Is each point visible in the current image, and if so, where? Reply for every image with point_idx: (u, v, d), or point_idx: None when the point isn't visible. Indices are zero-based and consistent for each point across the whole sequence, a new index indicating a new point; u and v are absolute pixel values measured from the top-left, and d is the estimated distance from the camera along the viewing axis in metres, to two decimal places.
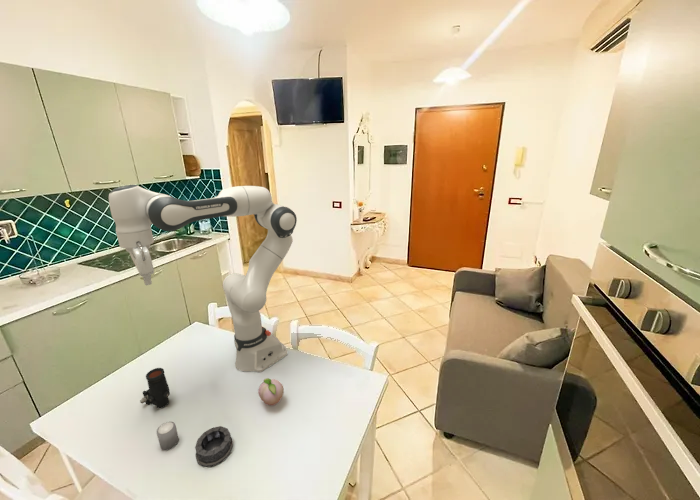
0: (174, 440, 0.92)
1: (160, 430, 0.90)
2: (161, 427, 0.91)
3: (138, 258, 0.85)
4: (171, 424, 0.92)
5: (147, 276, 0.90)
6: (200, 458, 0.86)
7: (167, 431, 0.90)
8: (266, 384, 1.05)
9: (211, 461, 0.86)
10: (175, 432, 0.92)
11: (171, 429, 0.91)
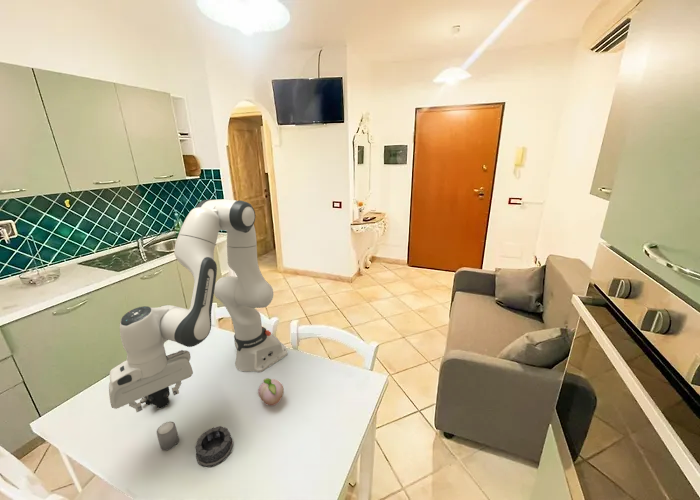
0: (174, 440, 0.92)
1: (160, 430, 0.90)
2: (161, 427, 0.91)
3: (188, 361, 0.90)
4: (171, 424, 0.92)
5: None
6: (200, 458, 0.86)
7: (167, 431, 0.90)
8: (266, 384, 1.05)
9: (211, 461, 0.86)
10: (175, 432, 0.92)
11: (171, 429, 0.91)
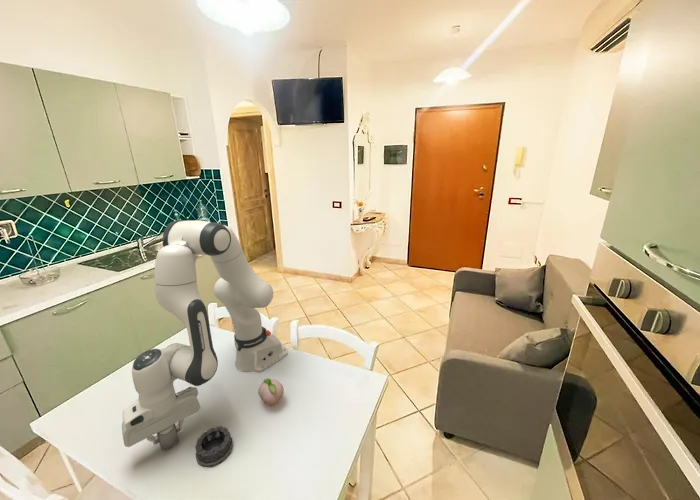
0: (174, 440, 0.92)
1: None
2: None
3: (196, 397, 0.94)
4: None
5: None
6: (200, 458, 0.86)
7: (167, 431, 0.90)
8: (266, 384, 1.05)
9: (211, 461, 0.86)
10: (175, 432, 0.92)
11: (171, 429, 0.91)
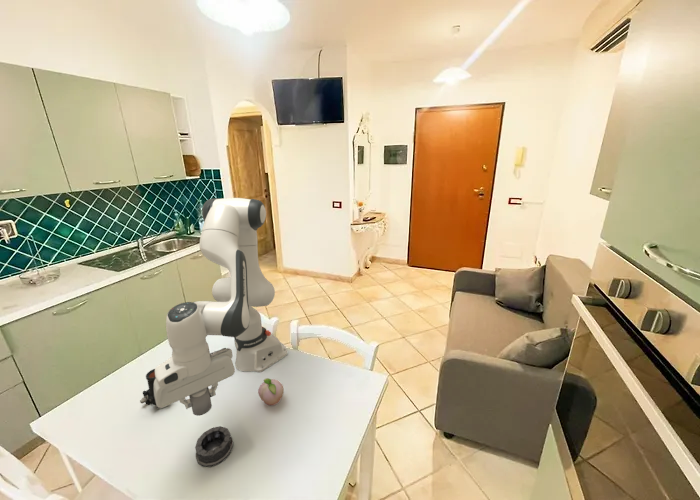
0: (207, 405, 0.84)
1: None
2: None
3: None
4: None
5: None
6: (200, 458, 0.86)
7: (201, 394, 0.82)
8: (266, 384, 1.05)
9: (211, 461, 0.86)
10: (208, 396, 0.84)
11: (205, 392, 0.83)
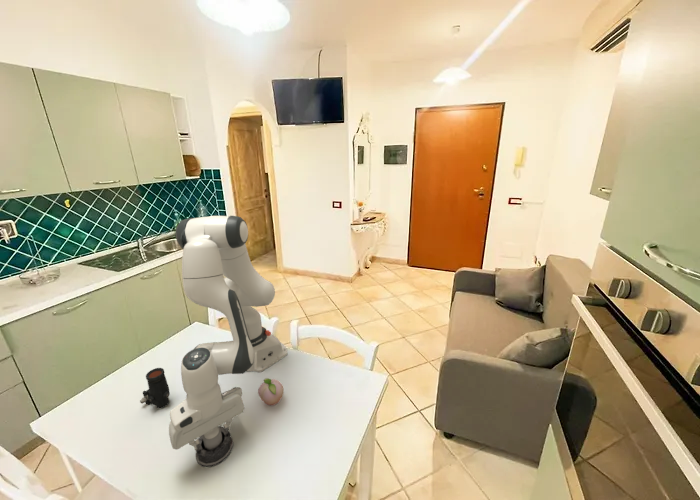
0: None
1: (206, 435, 0.88)
2: None
3: None
4: (216, 428, 0.90)
5: None
6: (200, 458, 0.86)
7: (214, 436, 0.87)
8: (266, 384, 1.05)
9: (211, 461, 0.86)
10: (221, 437, 0.89)
11: (217, 434, 0.88)
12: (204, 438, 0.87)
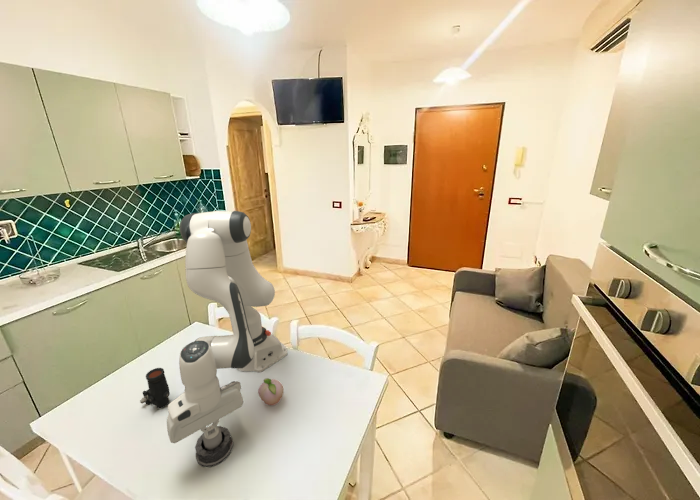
0: None
1: None
2: None
3: None
4: None
5: None
6: (200, 458, 0.86)
7: (214, 436, 0.87)
8: (266, 384, 1.05)
9: (211, 461, 0.86)
10: (221, 437, 0.89)
11: (217, 434, 0.88)
12: (204, 438, 0.87)
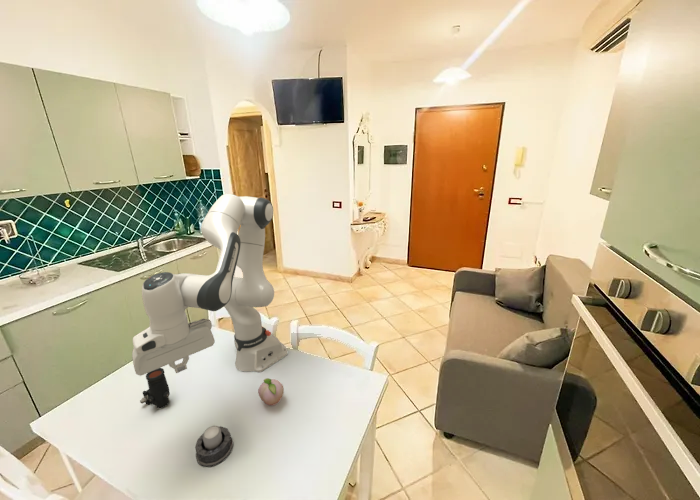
0: None
1: (206, 435, 0.88)
2: (207, 431, 0.89)
3: (210, 329, 0.88)
4: (216, 428, 0.90)
5: None
6: (200, 458, 0.86)
7: (214, 436, 0.87)
8: (266, 384, 1.05)
9: (211, 461, 0.86)
10: (221, 437, 0.89)
11: (217, 434, 0.88)
12: (204, 438, 0.87)
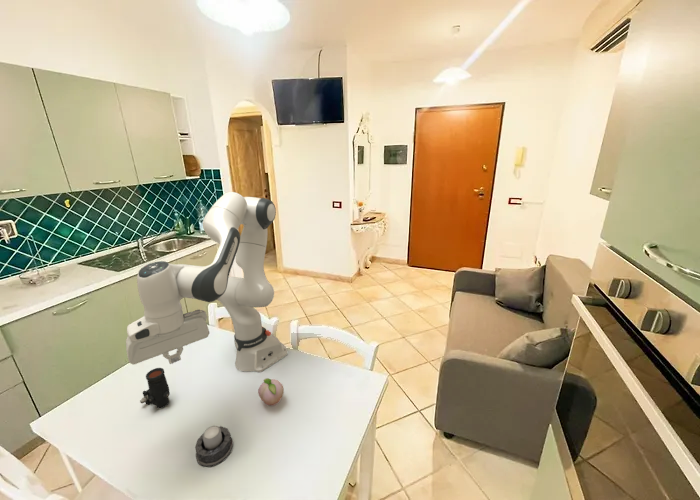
0: None
1: (206, 435, 0.88)
2: (207, 431, 0.89)
3: (205, 320, 0.88)
4: (216, 428, 0.90)
5: None
6: (200, 458, 0.86)
7: (214, 436, 0.87)
8: (266, 384, 1.05)
9: (211, 461, 0.86)
10: (221, 437, 0.89)
11: (217, 433, 0.88)
12: (204, 438, 0.87)
